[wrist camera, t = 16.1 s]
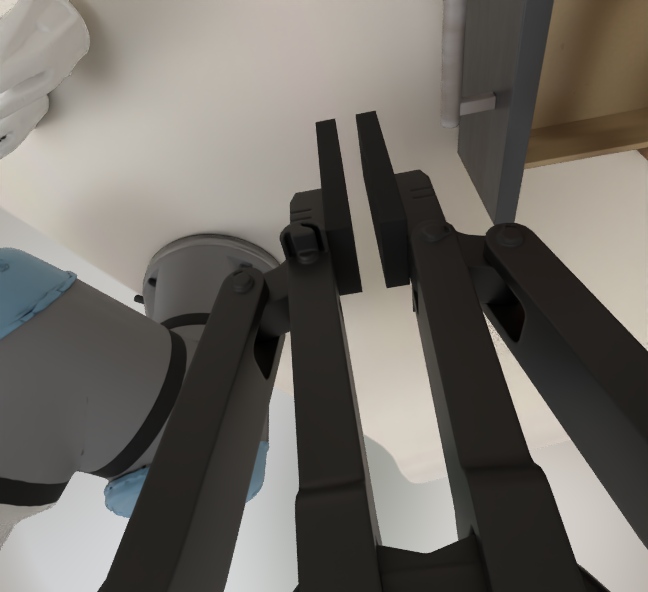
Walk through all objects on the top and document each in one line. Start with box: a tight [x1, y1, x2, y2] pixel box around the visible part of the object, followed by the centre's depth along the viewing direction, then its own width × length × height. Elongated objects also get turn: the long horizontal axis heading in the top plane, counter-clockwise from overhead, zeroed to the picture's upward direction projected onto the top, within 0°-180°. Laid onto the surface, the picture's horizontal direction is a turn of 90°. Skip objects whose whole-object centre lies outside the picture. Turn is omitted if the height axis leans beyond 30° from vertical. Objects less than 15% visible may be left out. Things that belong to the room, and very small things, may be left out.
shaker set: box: [0, 0, 90, 159], centre depth 27 cm, size 12×4×11 cm, turn 132°
